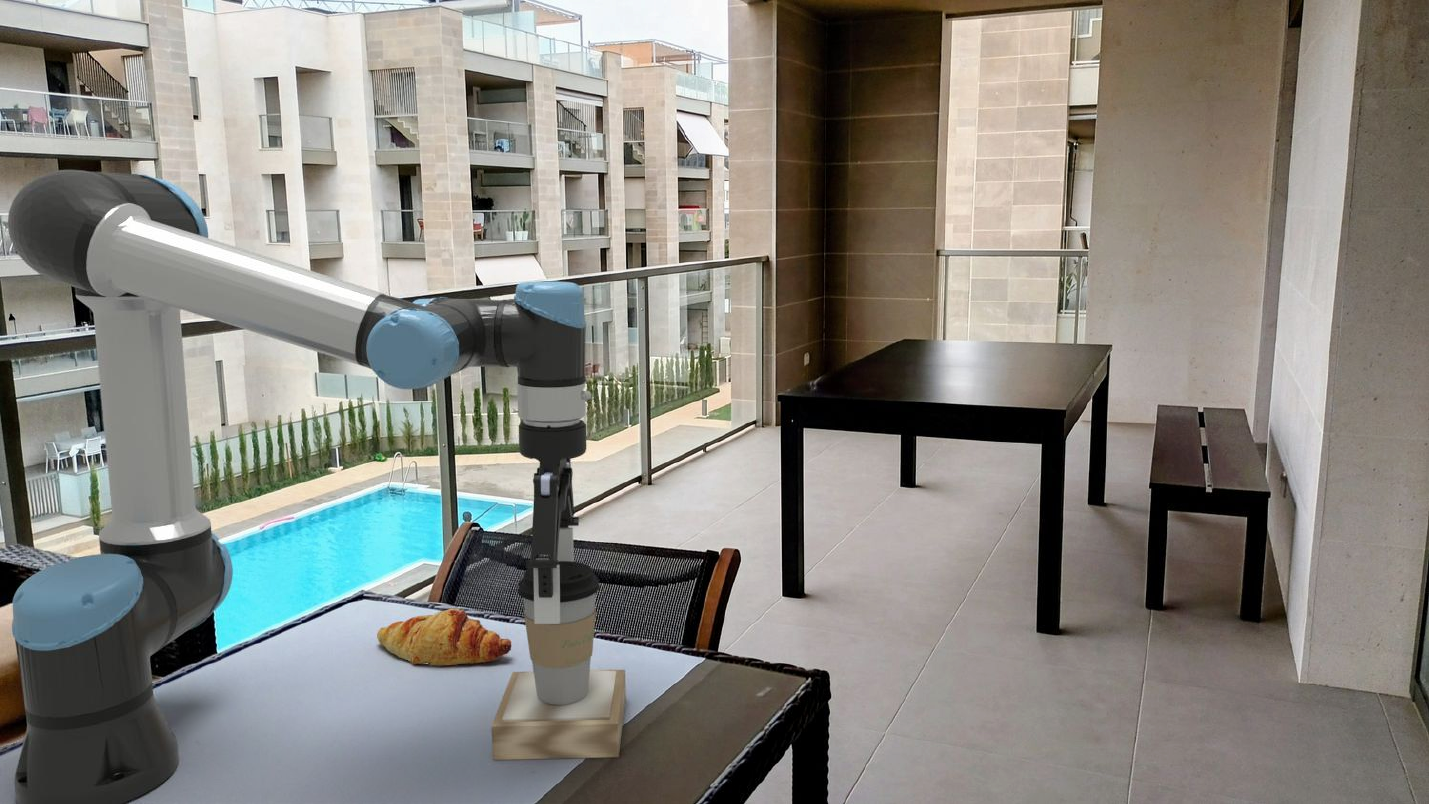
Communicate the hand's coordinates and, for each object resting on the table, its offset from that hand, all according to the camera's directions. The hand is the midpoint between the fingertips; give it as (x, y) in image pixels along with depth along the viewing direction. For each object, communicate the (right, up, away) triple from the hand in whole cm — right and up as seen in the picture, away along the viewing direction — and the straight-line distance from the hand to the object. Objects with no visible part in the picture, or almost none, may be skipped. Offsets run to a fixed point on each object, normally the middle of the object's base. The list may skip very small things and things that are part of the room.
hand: (555, 600), depth 117 cm
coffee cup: (0, -12, +2) cm, 12 cm away
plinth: (+1, -16, +3) cm, 16 cm away
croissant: (-19, -13, +24) cm, 33 cm away
